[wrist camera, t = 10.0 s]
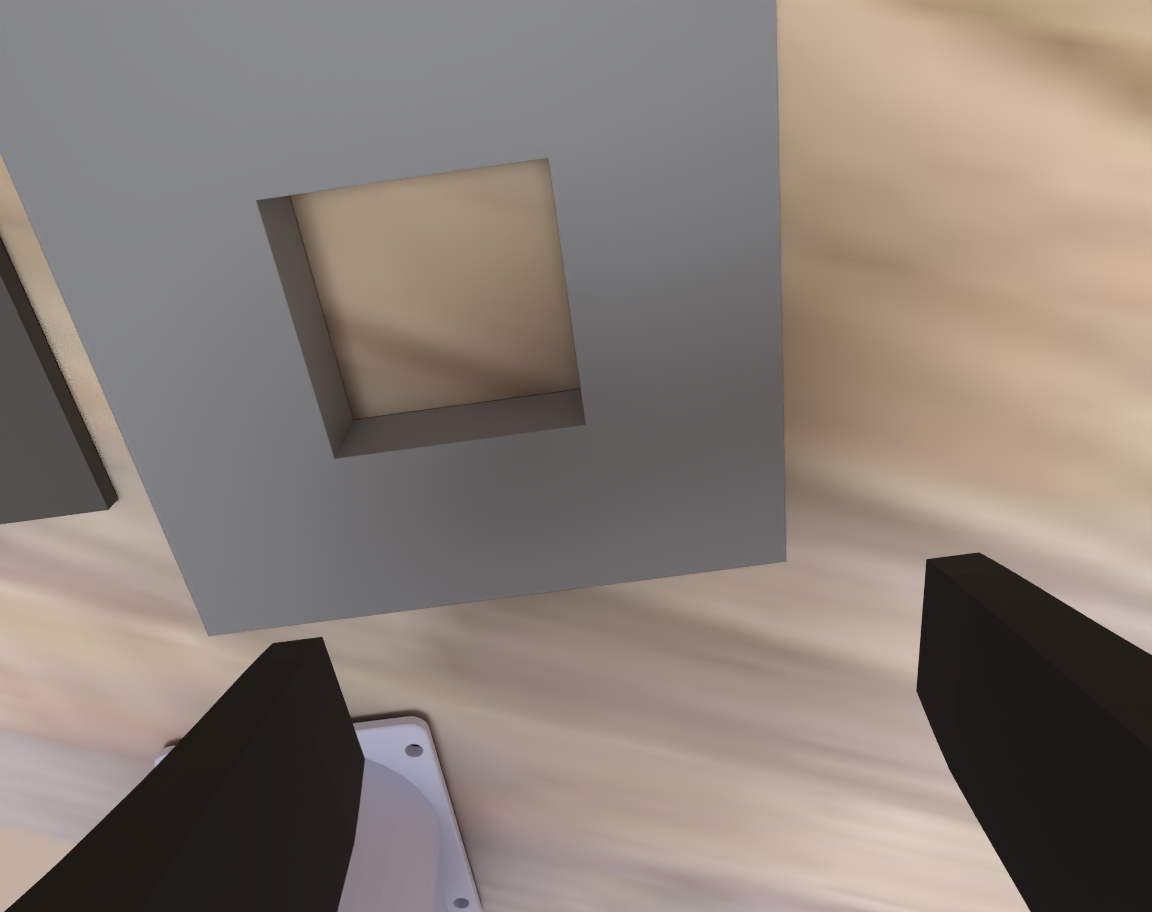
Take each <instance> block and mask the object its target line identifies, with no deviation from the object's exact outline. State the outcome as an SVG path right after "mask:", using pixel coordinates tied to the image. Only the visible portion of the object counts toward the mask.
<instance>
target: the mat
mask: <svg viewBox="0 0 1152 912" xmlns="http://www.w3.org/2000/svg"><path fill="white" fill-rule="evenodd" d="M117 500H118V498H117V496H116V494H115V492H114V490H113V487H112V485H111V483H110V481H109V479H108V476H107V474H106V472H105V470H104V467H103V465H102V463H101V461H100V459H99V456H98V454H97V452H96V450H95V448H94V445H93V443H92V441H91V439H90V436H89V434H88V432H87V430H86V428H85V425H84V423H83V421H82V419H81V417H80V414H79V412H78V410H77V408H76V405H75V403H74V401H73V399H72V397H71V394H70V392H69V390H68V388H67V386H66V383H65V381H64V379H63V377H62V375H61V372H60V370H59V368H58V366H57V363H56V361H55V359H54V357H53V355H52V352H51V350H50V348H49V346H48V344H47V341H46V339H45V337H44V335H43V332H42V330H41V328H40V326H39V324H38V321H37V319H36V317H35V315H34V313H33V310H32V308H31V306H30V304H29V301H28V299H27V297H26V295H25V293H24V290H23V288H22V286H21V284H20V282H19V279H18V277H17V275H16V273H15V270H14V268H13V266H12V264H11V262H10V259H9V257H8V255H7V253H6V251H5V248H4V246H3V244H2V242H1V240H0V524H6V523H13V522H21V521H28V520H35V519H43V518H50V517H58V516H65V515H73V514H80V513H88V512H95V511H102V510H109V509H110V507H111V506H112V505H113V504H114V503H115V502H116V501H117Z"/></svg>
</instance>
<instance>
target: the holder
mask: <svg viewBox="0 0 1152 912" xmlns="http://www.w3.org/2000/svg"><path fill="white" fill-rule="evenodd" d="M0 154H1V156H2V158H3V161H4V163H5V165H6V167H7V170H8V172H9V174H10V177H11V179H12V181H13V184H14V186H15V188H16V191H17V193H18V195H19V198H20V200H21V202H22V205H23V207H24V209H25V212H26V214H27V216H28V219H29V221H30V223H31V225H32V228H33V230H34V232H35V235H36V237H37V239H38V242H39V244H40V246H41V249H42V251H43V253H44V256H45V258H46V260H47V263H48V265H49V267H50V270H51V272H52V274H53V276H54V279H55V281H56V283H57V286H58V288H59V290H60V293H61V295H62V297H63V300H64V302H65V304H66V307H67V309H68V311H69V314H70V316H71V318H72V321H73V323H74V325H75V327H76V330H77V332H78V334H79V337H80V339H81V341H82V344H83V346H84V348H85V351H86V353H87V355H88V358H89V360H90V362H91V365H92V367H93V369H94V372H95V374H96V376H97V378H98V381H99V383H100V385H101V388H102V390H103V392H104V395H105V397H106V399H107V402H108V404H109V406H110V409H111V411H112V413H113V416H114V418H115V420H116V423H117V425H118V427H119V429H120V432H121V434H122V436H123V439H124V441H125V443H126V446H127V448H128V450H129V453H130V455H131V457H132V460H133V462H134V464H135V467H136V469H137V471H138V474H139V476H140V478H141V481H142V483H143V485H144V487H145V490H146V492H147V494H148V497H149V499H150V501H151V504H152V506H153V508H154V511H155V513H156V515H157V518H158V520H159V522H160V525H161V527H162V529H163V532H164V534H165V536H166V538H167V541H168V543H169V545H170V548H171V550H172V552H173V555H174V557H175V559H176V562H177V564H178V566H179V569H180V571H181V573H182V576H183V578H184V580H185V583H186V585H187V587H188V589H189V592H190V594H191V596H192V599H193V601H194V603H195V606H196V608H197V610H198V613H199V615H200V617H201V620H202V622H203V624H204V627H205V629H206V631H207V634H208V636H214V635H221V634H229V633H237V632H245V631H252V630H260V629H268V628H276V627H283V626H291V625H299V624H307V623H314V622H322V621H330V620H338V619H345V618H353V617H361V616H369V615H376V614H384V613H392V612H400V611H407V610H415V609H423V608H430V607H438V606H446V605H454V604H461V603H469V602H477V601H485V600H492V599H500V598H508V597H516V596H523V595H531V594H539V593H547V592H554V591H562V590H570V589H578V588H585V587H593V586H601V585H609V584H616V583H624V582H632V581H640V580H647V579H655V578H663V577H671V576H678V575H686V574H694V573H702V572H709V571H717V570H725V569H733V568H740V567H748V566H756V565H764V564H771V563H779V562H786V516H785V461H784V405H783V350H782V294H781V239H780V183H779V128H778V72H777V17H776V0H0ZM544 158H548V160H549V167H550V174H551V181H552V188H553V195H554V202H555V209H556V216H557V223H558V231H559V238H560V245H561V252H562V259H563V266H564V273H565V280H566V287H567V294H568V302H569V309H570V316H571V323H572V330H573V337H574V344H575V351H576V358H577V365H578V373H579V380H580V387H581V389H577V390H570V391H562V392H555V393H548V394H540V395H533V396H526V397H518V398H511V399H504V400H496V401H489V402H482V403H474V404H467V405H460V406H452V407H445V408H438V409H430V410H423V411H416V412H408V413H401V414H394V415H386V416H379V417H372V418H364V419H357V420H353V417H352V414H351V410H350V407H349V403H348V400H347V396H346V393H345V389H344V386H343V382H342V379H341V375H340V372H339V368H338V365H337V361H336V358H335V354H334V351H333V347H332V344H331V340H330V337H329V333H328V330H327V326H326V322H325V319H324V315H323V312H322V308H321V305H320V301H319V298H318V294H317V291H316V287H315V284H314V280H313V277H312V273H311V270H310V266H309V263H308V259H307V256H306V252H305V249H304V245H303V242H302V238H301V235H300V231H299V227H298V224H297V220H296V217H295V213H294V210H293V206H292V203H291V199H290V196H289V195H295V194H302V193H309V192H316V191H323V190H330V189H337V188H344V187H351V186H358V185H364V184H371V183H378V182H385V181H392V180H399V179H406V178H413V177H420V176H427V175H433V174H440V173H447V172H454V171H461V170H468V169H475V168H482V167H489V166H496V165H502V164H509V163H516V162H523V161H530V160H537V159H544Z"/></svg>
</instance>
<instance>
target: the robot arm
mask: <svg viewBox="0 0 1152 912" xmlns="http://www.w3.org/2000/svg"><path fill="white" fill-rule="evenodd" d="M916 691H917V693H918V696H919V698H920V701H921V703H922V706H923V708H924V711H925V713H926V716H927V718H928V720H929V723H930V725H931V728H932V730H933V733H934V735H935V737H936V740H937V742H938V744H939V747H940V749H941V751H942V754H943V756H944V758H945V760H946V763H947V765H948V767H949V770H950V771H951V773H952V775H953V777H954V779H955V780H956V782H957V784H958V786H959V788H960V789H961V791H962V793H963V795H964V797H965V798H966V800H967V802H968V804H969V805H970V807H971V809H972V811H973V812H974V814H975V816H976V818H977V819H978V821H979V823H980V825H981V826H982V828H983V830H984V832H985V833H986V835H987V837H988V839H989V840H990V842H991V844H992V846H993V847H994V849H995V851H996V853H997V854H998V856H999V858H1000V859H1001V861H1002V863H1003V865H1004V866H1005V868H1006V870H1007V872H1008V873H1009V875H1010V877H1011V878H1012V880H1013V882H1014V884H1015V885H1016V887H1017V889H1018V891H1019V892H1020V894H1021V896H1022V897H1023V899H1024V901H1025V903H1026V904H1027V906H1028V908H1029V910H1030V911H1031V912H1152V655H1151V654H1149V653H1147V652H1145V651H1144V650H1142V649H1140V648H1139V647H1137V646H1135V645H1133V644H1132V643H1130V642H1128V641H1127V640H1125V639H1123V638H1122V637H1120V636H1118V635H1116V634H1115V633H1113V632H1111V631H1110V630H1108V629H1106V628H1105V627H1103V626H1101V625H1100V624H1098V623H1096V622H1095V621H1093V620H1091V619H1090V618H1088V617H1086V616H1085V615H1083V614H1082V613H1080V612H1078V611H1077V610H1075V609H1073V608H1072V607H1070V606H1068V605H1067V604H1065V603H1063V602H1062V601H1060V600H1059V599H1057V598H1055V597H1054V596H1052V595H1050V594H1049V593H1047V592H1045V591H1044V590H1042V589H1041V588H1039V587H1037V586H1036V585H1034V584H1032V583H1031V582H1029V581H1027V580H1026V579H1024V578H1022V577H1021V576H1019V575H1017V574H1016V573H1014V572H1012V571H1011V570H1009V569H1007V568H1006V567H1004V566H1002V565H1001V564H999V563H997V562H995V561H994V560H992V559H990V558H988V557H986V556H985V555H983V554H981V553H972V554H964V555H956V556H948V557H940V558H933V559H927V560H926V573H925V586H924V599H923V612H922V625H921V638H920V651H919V664H918V677H917V690H916ZM411 744H417V745H419V747H414V746H411ZM154 766H155V768H154V769H153V770H152V771H151V772H150V773H149V774H148V775H147V776H146V777H145V778H144V779H143V780H142V781H141V782H140V783H139V784H138V785H137V786H136V787H135V788H134V789H133V790H132V791H131V792H130V793H129V794H128V795H127V796H126V797H125V798H124V799H123V800H122V801H121V802H120V803H119V804H118V805H117V806H116V807H115V808H114V809H113V810H112V811H111V812H110V813H109V814H108V815H107V816H106V817H105V818H104V819H103V820H102V821H101V822H100V823H99V824H98V825H97V826H96V827H95V828H93V829H92V830H91V831H90V832H89V833H88V834H87V835H86V836H85V837H84V838H83V839H82V840H81V841H80V842H79V843H78V844H77V845H76V846H75V847H74V848H73V849H72V850H71V851H70V852H69V853H68V854H67V855H66V856H65V857H64V858H63V859H62V860H61V861H60V862H59V863H58V864H57V865H55V866H54V867H53V868H52V869H51V870H50V871H49V872H48V873H47V874H46V875H45V876H43V877H42V878H41V879H40V880H39V881H38V882H37V883H36V884H35V885H34V886H32V887H31V888H30V889H29V890H28V891H27V892H26V893H25V894H24V895H22V896H21V897H20V898H19V899H18V900H17V901H16V902H15V903H14V904H12V905H11V906H10V907H9V908H8V909H7V910H6V911H4V912H483V910H482V907H481V903H480V900H479V896H478V893H477V889H476V886H475V883H474V879H473V876H472V872H471V869H470V866H469V862H468V859H467V855H466V852H465V849H464V845H463V842H462V838H461V835H460V831H459V828H458V825H457V821H456V818H455V814H454V811H453V808H452V804H451V801H450V797H449V794H448V791H447V787H446V784H445V780H444V777H443V773H442V770H441V767H440V763H439V760H438V756H437V753H436V750H435V746H434V743H433V739H432V736H431V733H430V729H429V726H428V725H427V723H426V722H425V721H424V720H422V719H421V718H418V717H413V716H407V717H399V718H391V719H383V720H375V721H367V722H359V723H352V720H351V717H350V715H349V712H348V709H347V706H346V703H345V700H344V697H343V695H342V692H341V689H340V686H339V683H338V680H337V677H336V675H335V672H334V669H333V666H332V663H331V660H330V657H329V655H328V652H327V649H326V646H325V643H324V640H323V637H318V638H310V639H302V640H294V641H287V642H279V643H273V644H271V645H270V646H269V647H268V648H267V649H266V650H265V651H264V652H263V653H262V654H261V655H260V656H259V657H258V658H257V659H256V660H255V661H254V662H253V664H252V665H251V666H250V667H249V668H248V669H247V670H246V671H245V672H244V673H243V674H242V675H241V676H240V677H239V678H238V679H237V681H236V682H235V683H234V684H233V685H232V686H231V687H230V688H229V689H228V690H227V691H226V692H225V693H224V695H223V696H222V697H221V698H220V699H219V700H218V701H217V702H216V703H215V704H214V705H213V706H212V707H211V709H210V710H209V711H208V712H207V713H206V714H205V715H204V716H203V717H202V718H201V719H200V720H199V722H198V723H197V724H196V725H195V726H194V727H193V728H192V729H191V730H190V731H189V732H188V733H187V734H186V735H185V736H184V737H183V738H182V739H181V740H180V742H179V743H178V744H177V745H176V746H169V747H166V748H163V749H162V750H161V751H160V752H159V754H158V756H157V758H156V760H155V763H154Z"/></svg>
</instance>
